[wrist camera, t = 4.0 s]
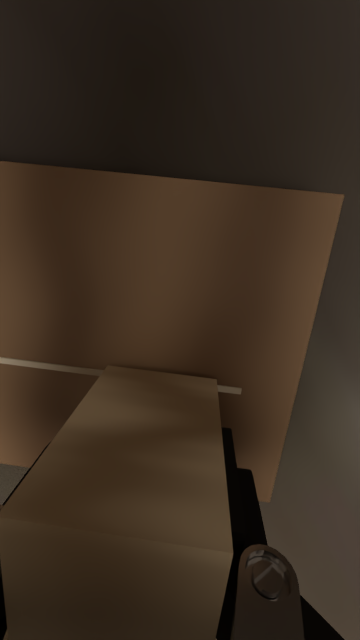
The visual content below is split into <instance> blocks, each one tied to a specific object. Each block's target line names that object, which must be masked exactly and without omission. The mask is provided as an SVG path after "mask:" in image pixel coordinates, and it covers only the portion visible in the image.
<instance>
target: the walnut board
mask: <svg viewBox="0 0 360 640" xmlns="http://www.w3.org/2000/svg"><path fill="white" fill-rule="evenodd" d="M343 199H344V195H342V194H332V193H322V192H312V191H302V190H291V189H281V188H271V187H261V186H251V185H240V184H230V183H220V182H210V181H200V180H189V179H179V178H169V177H159V176H149V175H139V174H128V173H118V172H108V171H98V170H88V169H77V168H67V167H57V166H47V165H37V164H26V163H16V162H6V161H0V463H2V464H9V465H16V466H23V467H31V466H32V465H33V463H34V462H35V460H36V459H37V458H38V456H39V455H40V454H41V452H42V451H43V450H44V448H45V447H46V446H47V445H48V444H49V443H50V442H52V440H53V439H54V438H55V436H56V435H57V433H58V432H59V431H60V429H61V428H62V427H63V425H64V424H65V423H66V421H67V420H68V419H69V417H70V416H71V414H72V413H73V412H74V410H75V409H76V408H77V406H78V405H79V404H80V402H81V401H82V400H83V398H84V397H85V396H86V394H87V393H88V391H89V390H90V389H91V387H92V386H93V385H94V383H95V382H96V381H97V379H98V378H99V377H100V375H101V374H102V373H103V371H104V370H105V368H106V367H107V366H108V365H110V366H117V367H125V368H133V369H141V370H149V371H156V372H164V373H172V374H180V375H188V376H195V377H203V378H211V379H217V388H218V398H219V409H220V419H221V427H225V428H231V430H232V436H233V443H234V449H235V456H236V463H237V468H243V469H250V470H251V471H252V474H253V478H254V483H255V487H256V492H257V497H258V501H263V502H269V503H270V499H271V495H272V491H273V487H274V482H275V478H276V474H277V470H278V466H279V462H280V458H281V454H282V450H283V445H284V441H285V437H286V433H287V429H288V425H289V421H290V417H291V413H292V409H293V404H294V400H295V396H296V392H297V388H298V384H299V380H300V376H301V372H302V367H303V363H304V359H305V355H306V351H307V347H308V343H309V339H310V335H311V330H312V326H313V322H314V318H315V314H316V310H317V306H318V302H319V298H320V294H321V289H322V285H323V281H324V277H325V273H326V269H327V265H328V261H329V257H330V252H331V248H332V244H333V240H334V236H335V232H336V228H337V224H338V220H339V216H340V211H341V207H342V203H343Z"/></svg>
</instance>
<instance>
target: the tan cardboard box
mask: <svg viewBox="0 0 360 640" xmlns="http://www.w3.org/2000/svg"><path fill="white" fill-rule="evenodd" d="M232 558H233V544H232V534H231V523H230V513H229V502H228V492H227V481H226V471H225V461H224V450H223V440H222V429H221V419H220V409H219V398H218V388H217V379H211V378H203V377H195V376H188V375H180V374H172V373H164V372H156V371H149V370H141V369H133V368H125V367H117V366H110V365H108V366H107V367H106V368H105V370H104V371H103V373H102V374H101V375H100V377H99V378H98V379H97V381H96V382H95V383H94V385H93V386H92V387H91V389H90V390H89V391H88V393H87V394H86V396H85V397H84V398H83V400H82V401H81V402H80V404H79V405H78V406H77V408H76V409H75V410H74V412H73V413H72V414H71V416H70V417H69V419H68V420H67V421H66V423H65V424H64V425H63V427H62V428H61V429H60V431H59V432H58V433H57V435H56V436H55V438H54V439H53V440H52V442H51V443H50V444H49V446H48V447H47V448H46V450H45V451H44V452H43V454H42V455H41V456H40V458H39V459H38V461H37V462H36V463H35V465H34V466H33V467H32V469H31V470H30V471H29V473H28V474H27V475H26V477H25V478H24V480H23V481H22V482H21V484H20V485H19V486H18V488H17V489H16V490H15V492H14V493H13V494H12V496H11V497H10V498H9V500H8V501H7V503H6V504H5V505H4V507H3V508H2V509H1V511H0V561H1V571H2V581H3V590H4V600H5V610H6V620H7V630H8V640H215V638H216V633H217V629H218V624H219V619H220V614H221V610H222V605H223V600H224V595H225V591H226V586H227V581H228V577H229V572H230V567H231V562H232Z"/></svg>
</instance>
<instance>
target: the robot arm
mask: <svg viewBox="0 0 360 640" xmlns="http://www.w3.org/2000/svg"><path fill="white" fill-rule="evenodd" d="M221 429H222V440H223V450H224V461H225V471H226V481H227V492H228V502H229V513H230V523H231V534H232V544H233V558H232V562H231V567H230V572H229V577H228V581H227V586H226V591H225V595H224V600H223V605H222V610H221V614H220V619H219V624H218V629H217V633H216V639H217V640H344V639H343V638H342V637H341V636H340V635H339V634H338V633H337V632H336V631H335V630H334V629H333V627H332V626H331V625H330V624H329V623H328V622H327V621H326V620H325V619H324V618H323V617H322V616H321V615H320V614H319V613H318V612H317V611H316V610H315V609H314V608H313V607H312V606H311V605H310V604H309V603H308V602H307V601H306V600H305V599H304V598H303V597H302V596H301V595H300V591H299V584H298V579H297V575H296V573H295V571H294V569H293V567H292V565H291V564H290V563H289V561H288V560H287V559H286V558H285V556H283V555H282V554H281V553H280V552H278V551H277V550H276V549H274V548H272V547H269V546H268V545H267V540H266V535H265V531H264V526H263V521H262V516H261V511H260V507H259V502H258V497H257V492H256V487H255V483H254V478H253V474H252V471H251V470H250V469H243V468H237V463H236V456H235V449H234V443H233V436H232V430H231V428H225V427H221ZM50 443H51V442H50ZM50 443H49V444H50ZM49 444H48V445H47V446H46V447H45V448H44V450H43V451H42V452H41V454H40V455H39V456H38V458H37V459H36V460H35V462H34V463H33V465H32V466H31V467H30V469H29V470H28V471H27V473H26V474H25V475H24V477H23V478H22V479H21V481H20V482H19V483H18V485H17V486H16V487H15V489H14V490H13V491H12V493H11V494H10V495H9V497H8V498H7V499H6V501H5V502H4V503H3V505H0V511H1V509H2V508H3V507H4V505H5V504H6V503H7V501H8V500H9V498H10V497H11V496H12V494H13V493H14V492H15V490H16V489H17V488H18V486H19V485H20V484H21V482H22V481H23V480H24V478H25V477H26V475H27V474H28V473H29V471H30V470H31V469H32V467H33V466H34V465H35V463H36V462H37V461H38V459H39V458H40V456H41V455H42V454H43V452H44V451H45V450H46V448H47V447H48V446H49ZM0 640H8V630H7V620H6V610H5V600H4V590H3V581H2V571H1V561H0Z"/></svg>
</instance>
